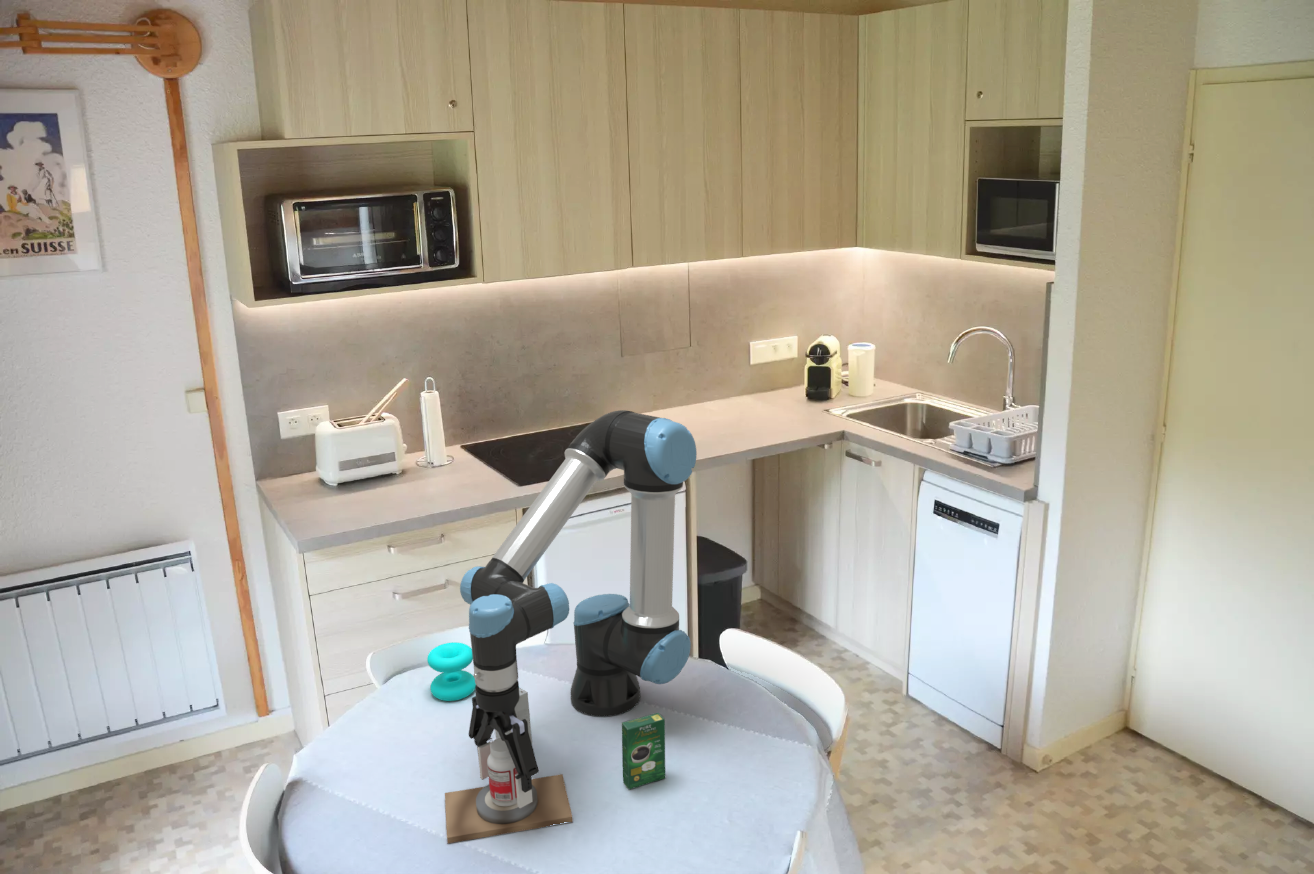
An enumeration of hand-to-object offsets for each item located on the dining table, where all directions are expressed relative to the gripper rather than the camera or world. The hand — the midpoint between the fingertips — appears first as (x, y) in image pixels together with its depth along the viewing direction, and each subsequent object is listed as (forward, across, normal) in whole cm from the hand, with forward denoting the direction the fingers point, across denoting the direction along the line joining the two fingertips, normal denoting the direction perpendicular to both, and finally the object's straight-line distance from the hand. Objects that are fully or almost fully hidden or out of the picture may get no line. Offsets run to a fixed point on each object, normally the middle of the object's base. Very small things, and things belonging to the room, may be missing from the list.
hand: (505, 789), depth 187 cm
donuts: (+5, -43, +16) cm, 46 cm away
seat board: (+4, 0, 0) cm, 4 cm away
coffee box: (+5, +11, +24) cm, 26 cm away
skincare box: (+5, -16, +13) cm, 21 cm away
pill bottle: (+2, 0, 0) cm, 2 cm away
